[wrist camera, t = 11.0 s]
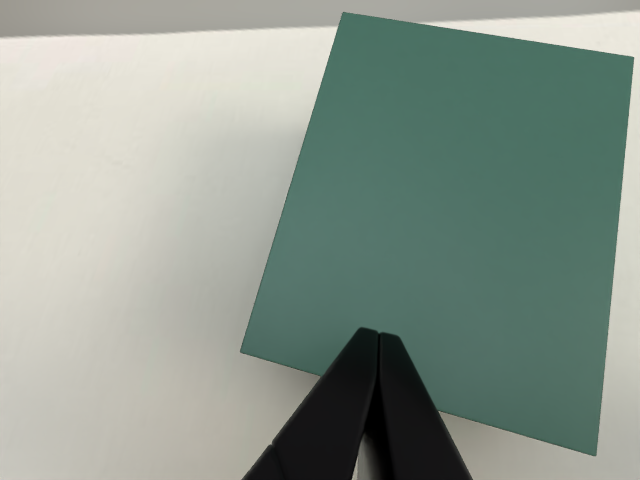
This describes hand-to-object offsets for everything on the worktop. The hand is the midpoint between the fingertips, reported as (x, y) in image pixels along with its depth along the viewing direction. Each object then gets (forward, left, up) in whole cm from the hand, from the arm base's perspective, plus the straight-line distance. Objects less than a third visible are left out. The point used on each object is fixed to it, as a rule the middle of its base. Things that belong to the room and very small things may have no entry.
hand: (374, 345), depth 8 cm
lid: (+3, -4, -4) cm, 7 cm away
